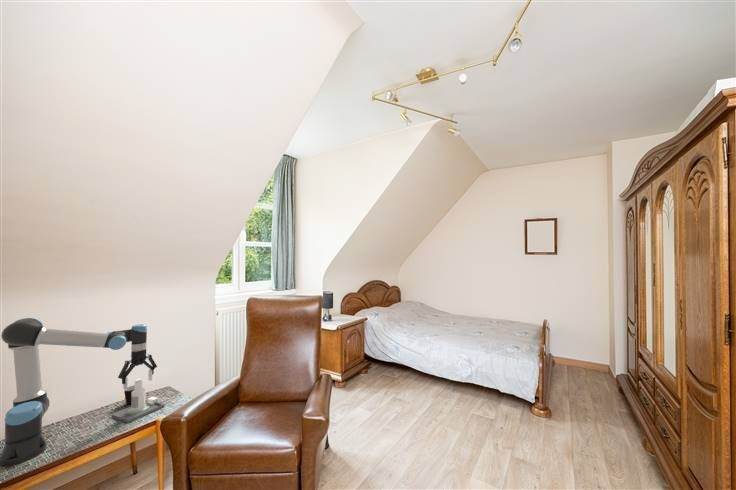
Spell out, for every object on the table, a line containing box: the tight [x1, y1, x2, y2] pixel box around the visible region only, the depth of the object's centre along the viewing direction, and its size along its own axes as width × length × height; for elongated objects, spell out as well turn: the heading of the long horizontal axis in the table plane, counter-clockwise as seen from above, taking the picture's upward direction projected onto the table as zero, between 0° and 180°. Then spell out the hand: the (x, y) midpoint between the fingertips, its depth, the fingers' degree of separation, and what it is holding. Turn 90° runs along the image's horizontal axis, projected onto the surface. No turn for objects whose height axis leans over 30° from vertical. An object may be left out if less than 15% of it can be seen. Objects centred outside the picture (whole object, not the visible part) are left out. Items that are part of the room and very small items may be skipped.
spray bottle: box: [130, 377, 146, 412], centre depth 181 cm, size 7×7×18 cm
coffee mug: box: [123, 384, 135, 406], centre depth 193 cm, size 12×9×10 cm
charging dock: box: [110, 396, 165, 424], centre depth 181 cm, size 20×18×4 cm
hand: (138, 384), depth 181 cm, fingers open, 13 cm apart
